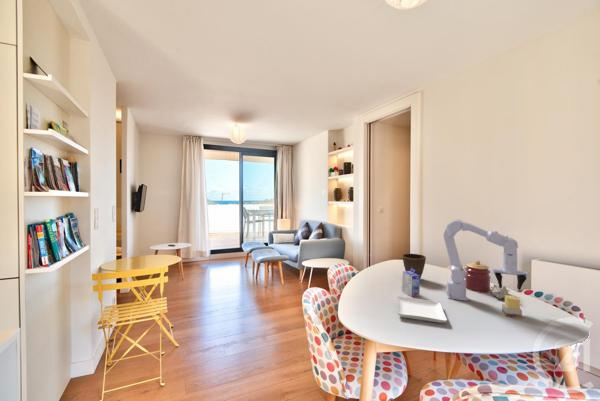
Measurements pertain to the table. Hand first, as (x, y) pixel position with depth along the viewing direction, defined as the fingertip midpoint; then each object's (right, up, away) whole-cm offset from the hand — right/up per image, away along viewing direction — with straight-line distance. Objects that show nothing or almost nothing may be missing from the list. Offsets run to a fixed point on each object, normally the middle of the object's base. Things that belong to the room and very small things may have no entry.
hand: (509, 288), depth 132 cm
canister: (+3, -10, +28) cm, 30 cm away
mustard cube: (-4, -7, -7) cm, 10 cm away
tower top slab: (-4, -9, -7) cm, 12 cm away
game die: (+5, -10, +13) cm, 17 cm away
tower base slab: (-4, -11, -7) cm, 13 cm away
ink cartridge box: (-42, -10, +21) cm, 48 cm away
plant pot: (-29, -10, +47) cm, 55 cm away
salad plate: (-48, -11, -4) cm, 49 cm away
